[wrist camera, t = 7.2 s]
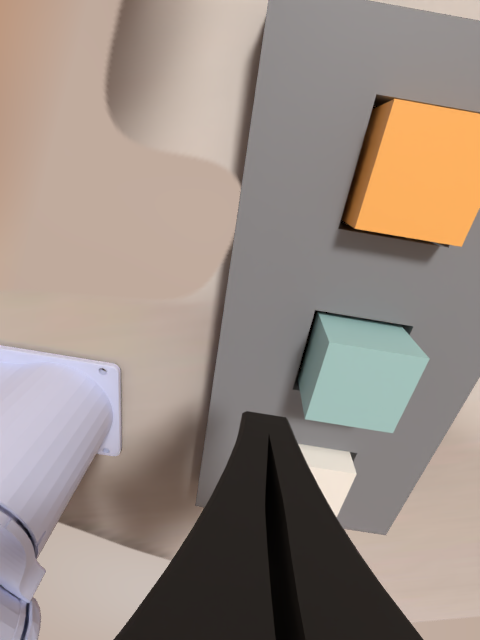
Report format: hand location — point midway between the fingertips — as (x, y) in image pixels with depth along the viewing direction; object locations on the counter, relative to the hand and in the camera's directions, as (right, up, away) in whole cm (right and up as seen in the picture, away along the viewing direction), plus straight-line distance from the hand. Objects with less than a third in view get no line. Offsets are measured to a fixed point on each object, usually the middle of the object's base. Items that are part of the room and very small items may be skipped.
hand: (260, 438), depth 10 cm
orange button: (+7, +10, +5) cm, 13 cm away
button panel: (+5, +2, +9) cm, 11 cm away
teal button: (+5, +2, +8) cm, 9 cm away
